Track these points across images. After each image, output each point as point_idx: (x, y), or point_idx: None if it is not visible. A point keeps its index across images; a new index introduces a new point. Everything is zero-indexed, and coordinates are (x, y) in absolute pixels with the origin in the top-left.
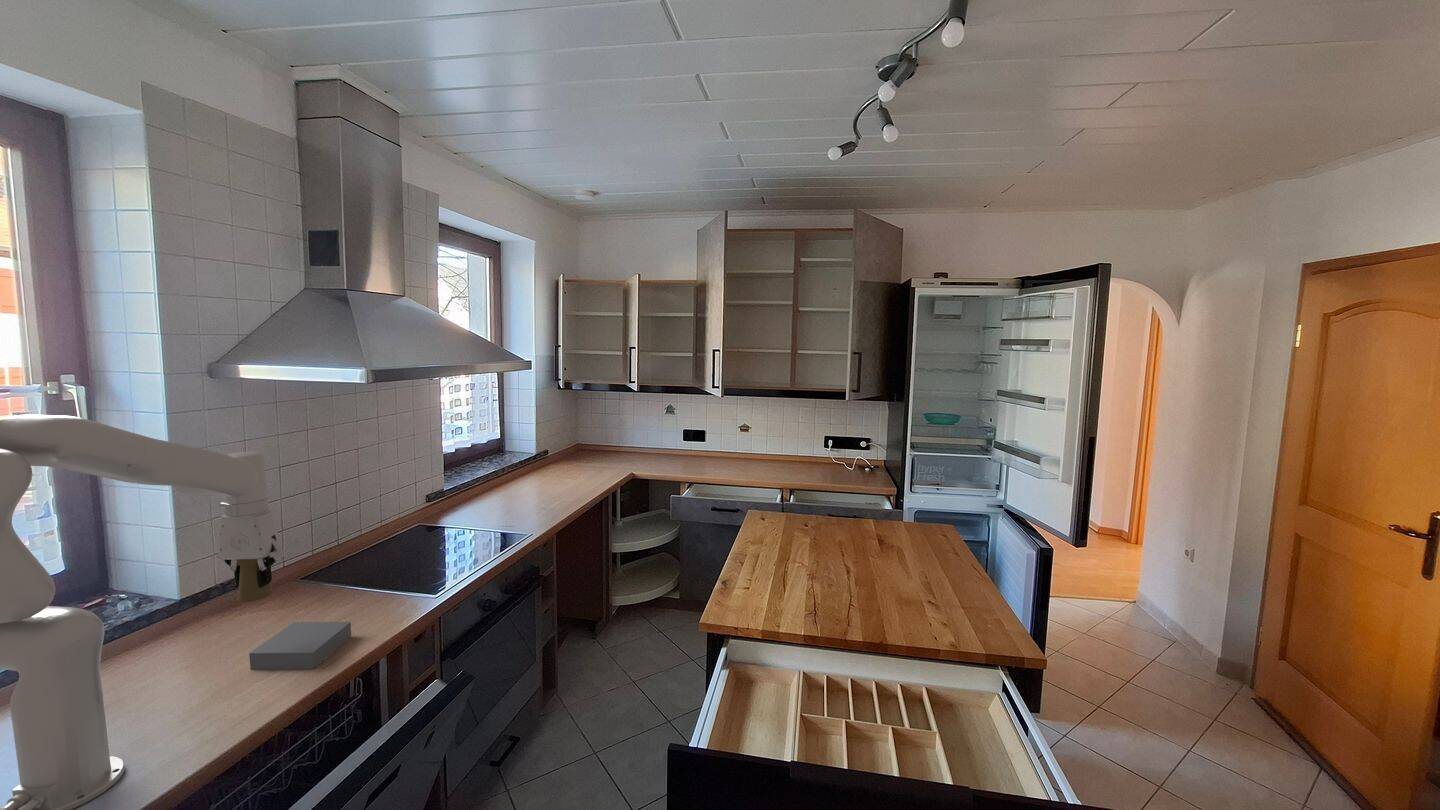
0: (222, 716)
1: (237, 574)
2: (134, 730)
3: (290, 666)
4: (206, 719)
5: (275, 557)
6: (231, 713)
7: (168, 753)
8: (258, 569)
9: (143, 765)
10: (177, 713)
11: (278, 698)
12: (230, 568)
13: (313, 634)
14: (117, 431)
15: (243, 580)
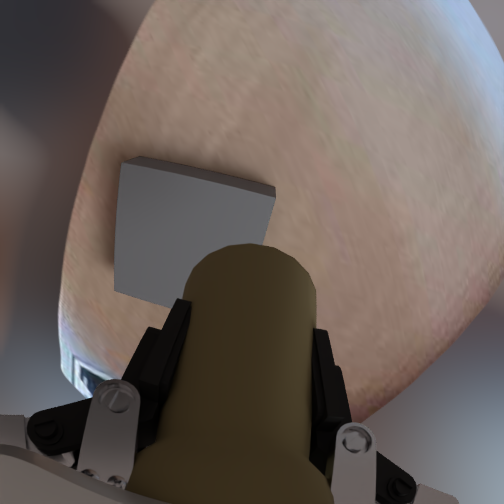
0: (247, 18)
1: (323, 396)
2: (388, 29)
3: (184, 166)
4: (274, 16)
5: (10, 433)
6: (234, 23)
7: None
8: (167, 405)
9: None
10: (344, 54)
11: (164, 57)
12: (374, 438)
13: (160, 254)
14: None
15: (268, 339)
